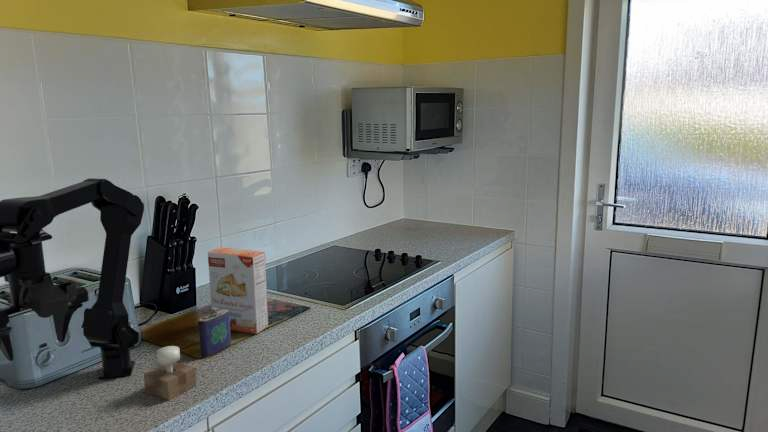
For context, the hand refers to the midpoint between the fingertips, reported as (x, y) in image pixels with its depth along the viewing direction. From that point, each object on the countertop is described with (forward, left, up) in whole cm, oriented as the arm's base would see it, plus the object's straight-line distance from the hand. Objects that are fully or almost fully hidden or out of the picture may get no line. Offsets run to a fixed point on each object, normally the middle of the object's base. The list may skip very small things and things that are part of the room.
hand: (37, 350), depth 102 cm
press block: (-4, +22, -13) cm, 26 cm away
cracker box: (-34, +37, -13) cm, 52 cm away
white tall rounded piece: (-4, +22, -13) cm, 26 cm away
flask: (-21, +31, -13) cm, 40 cm away
